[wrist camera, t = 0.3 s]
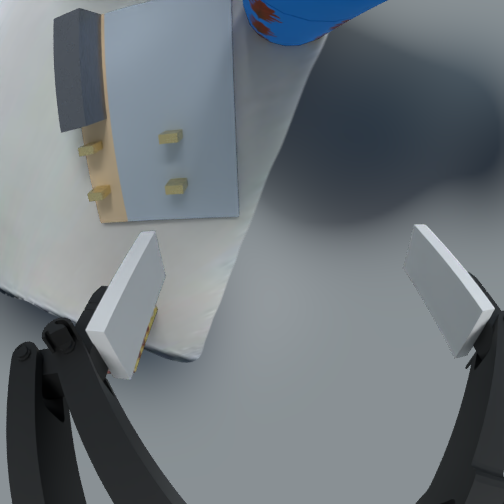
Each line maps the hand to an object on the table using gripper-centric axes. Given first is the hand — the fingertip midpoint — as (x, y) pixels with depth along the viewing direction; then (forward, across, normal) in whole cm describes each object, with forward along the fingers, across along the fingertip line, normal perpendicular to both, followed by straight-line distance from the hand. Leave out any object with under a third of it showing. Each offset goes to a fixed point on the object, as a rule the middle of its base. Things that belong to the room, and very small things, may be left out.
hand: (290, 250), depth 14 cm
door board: (+27, -15, +6) cm, 31 cm away
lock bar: (+26, -23, +14) cm, 37 cm away
